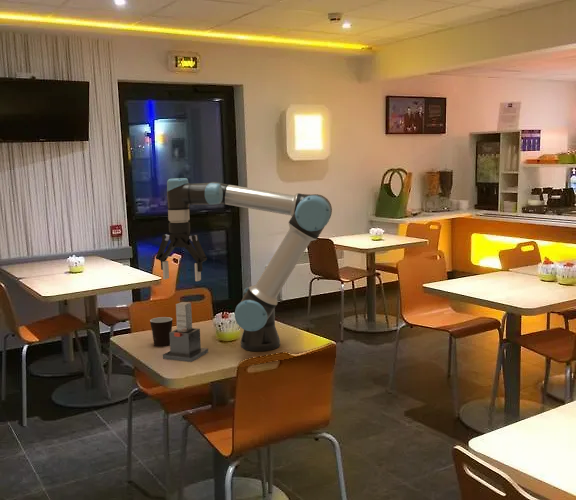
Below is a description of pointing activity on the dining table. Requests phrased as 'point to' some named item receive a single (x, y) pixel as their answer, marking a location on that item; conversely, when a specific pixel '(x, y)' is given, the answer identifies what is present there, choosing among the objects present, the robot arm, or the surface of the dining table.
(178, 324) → the column
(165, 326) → the coffee mug
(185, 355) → the stand base
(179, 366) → the dining table surface
